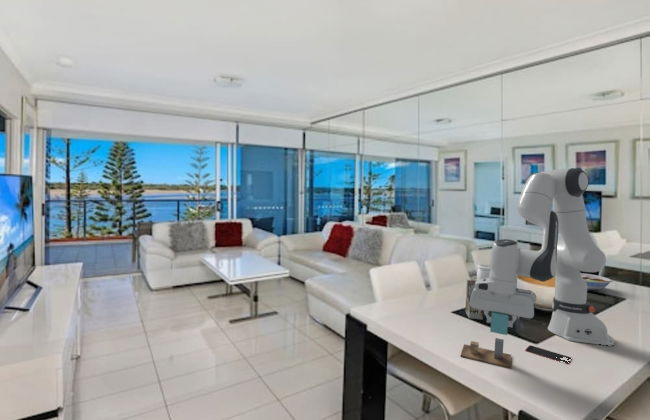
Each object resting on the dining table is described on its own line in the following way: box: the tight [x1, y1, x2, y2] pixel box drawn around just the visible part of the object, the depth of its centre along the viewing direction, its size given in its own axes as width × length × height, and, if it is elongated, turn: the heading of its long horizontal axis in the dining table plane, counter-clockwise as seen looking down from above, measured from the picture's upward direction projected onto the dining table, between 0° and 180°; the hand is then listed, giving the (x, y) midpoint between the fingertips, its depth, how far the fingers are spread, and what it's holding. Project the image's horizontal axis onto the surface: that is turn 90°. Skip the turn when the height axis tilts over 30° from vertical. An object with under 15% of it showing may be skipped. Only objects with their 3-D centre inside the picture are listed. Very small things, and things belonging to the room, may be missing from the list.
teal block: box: [489, 311, 509, 336], centre depth 123 cm, size 5×5×7 cm
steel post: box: [494, 337, 505, 360], centre depth 124 cm, size 3×3×7 cm
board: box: [460, 340, 512, 370], centre depth 126 cm, size 16×10×4 cm, turn 62°
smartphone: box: [524, 345, 573, 365], centre depth 129 cm, size 7×1×14 cm
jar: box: [476, 263, 491, 281], centre depth 208 cm, size 11×10×15 cm
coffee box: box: [465, 279, 484, 320], centre depth 166 cm, size 9×6×16 cm
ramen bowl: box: [580, 272, 612, 291], centre depth 219 cm, size 25×23×8 cm
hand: (499, 324), depth 123 cm, fingers closed on teal block, 5 cm apart
